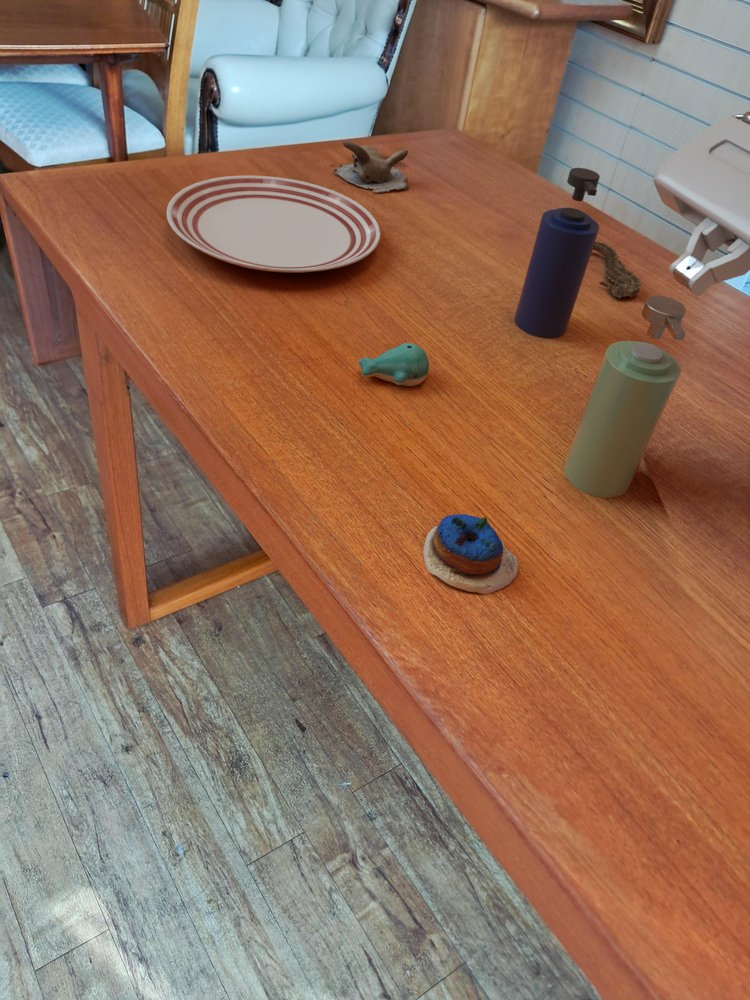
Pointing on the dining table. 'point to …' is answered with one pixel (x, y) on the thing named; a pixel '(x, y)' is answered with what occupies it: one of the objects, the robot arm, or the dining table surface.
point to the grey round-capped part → (664, 317)
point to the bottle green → (620, 417)
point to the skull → (373, 169)
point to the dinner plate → (273, 223)
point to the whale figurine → (398, 365)
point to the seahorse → (617, 273)
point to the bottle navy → (555, 272)
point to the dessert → (469, 554)
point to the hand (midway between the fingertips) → (682, 282)
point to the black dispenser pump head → (583, 182)
